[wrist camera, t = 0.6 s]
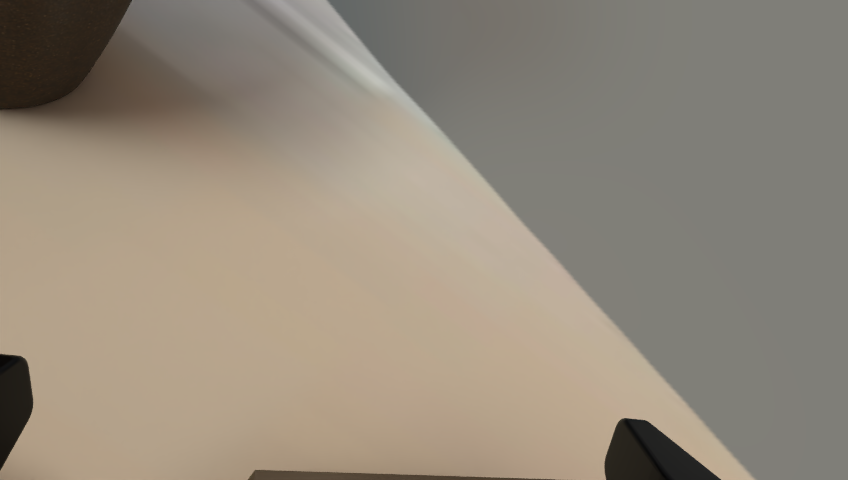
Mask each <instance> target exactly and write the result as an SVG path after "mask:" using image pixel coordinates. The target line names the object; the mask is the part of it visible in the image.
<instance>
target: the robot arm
mask: <svg viewBox="0 0 848 480" xmlns="http://www.w3.org/2000/svg"><path fill="white" fill-rule="evenodd" d="M32 409H33V395H32V388H31V381H30V374H29V367H28V363H27V361H26V359H25V358H23V357H21V356H16V355H6V354H0V470H1V468H2V467H3V465H4V463H5V461H6V459H7V458H8V456H9V454H10V452H11V450H12V449H13V447H14V445H15V443H16V442H17V440H18V438H19V436H20V434H21V433H22V431H23V429H24V427H25V425H26V424H27V422H28V420H29V418H30V416H31V413H32ZM605 476H606V480H721V479H720V478H718V477H717V476H716V475H714V474H713V473H712V472H711V471H709V470H708V469H707V468H706V467H704V466H703V465H702V464H701V463H699V462H698V461H697V460H696V459H694V458H693V457H692V456H691V455H689V454H688V453H687V452H686V451H684V450H683V449H682V448H681V447H679V446H678V445H677V444H676V443H674V442H673V441H672V440H671V439H669V438H668V437H667V436H666V435H664V434H663V433H662V432H661V431H659V430H658V429H657V428H656V427H654V426H653V425H652V424H651V423H649V422H648V421H645V420H637V419H628V418H624V419H621V420H620V421H619V422H618V424H617V426H616V428H615V431H614V434H613V437H612V440H611V443H610V446H609V449H608V452H607V455H606V458H605Z"/></svg>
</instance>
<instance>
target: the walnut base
mask: <svg viewBox="0 0 848 480" xmlns="http://www.w3.org/2000/svg"><path fill="white" fill-rule="evenodd" d="M248 480H553V479H522V478H490V477H459V476H427V475H396V474H364V473H333V472H301V471H270V470H255V471H254V472H253V474H252V475H251V476H250V478H249V479H248Z"/></svg>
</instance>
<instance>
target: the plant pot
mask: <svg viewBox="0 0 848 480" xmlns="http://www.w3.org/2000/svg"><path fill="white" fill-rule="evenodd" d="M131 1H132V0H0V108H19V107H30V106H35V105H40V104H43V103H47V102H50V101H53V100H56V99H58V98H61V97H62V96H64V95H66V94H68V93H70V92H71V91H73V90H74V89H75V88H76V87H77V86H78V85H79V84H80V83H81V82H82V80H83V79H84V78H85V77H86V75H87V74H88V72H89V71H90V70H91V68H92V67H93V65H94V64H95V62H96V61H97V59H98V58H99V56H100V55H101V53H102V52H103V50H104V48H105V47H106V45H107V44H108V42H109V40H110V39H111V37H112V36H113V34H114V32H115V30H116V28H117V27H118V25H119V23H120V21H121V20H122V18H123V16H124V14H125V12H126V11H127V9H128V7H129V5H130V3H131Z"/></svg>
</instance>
